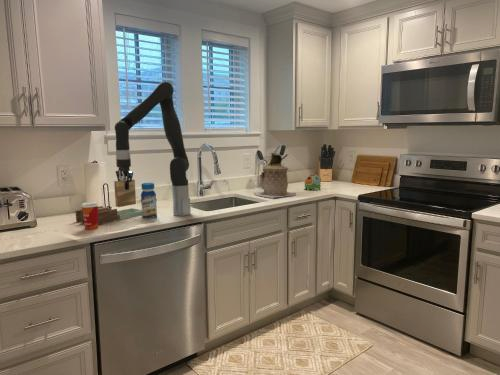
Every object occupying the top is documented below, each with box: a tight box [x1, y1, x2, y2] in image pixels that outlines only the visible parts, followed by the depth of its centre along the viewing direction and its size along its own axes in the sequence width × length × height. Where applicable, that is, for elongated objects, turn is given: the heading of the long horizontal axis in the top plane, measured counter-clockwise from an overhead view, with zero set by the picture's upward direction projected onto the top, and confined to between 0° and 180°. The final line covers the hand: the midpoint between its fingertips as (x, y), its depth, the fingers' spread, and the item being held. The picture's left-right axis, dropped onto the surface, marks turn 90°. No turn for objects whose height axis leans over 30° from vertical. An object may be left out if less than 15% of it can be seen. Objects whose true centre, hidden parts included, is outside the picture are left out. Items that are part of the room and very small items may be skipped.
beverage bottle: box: [140, 182, 158, 220], centre depth 207 cm, size 8×8×20 cm
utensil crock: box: [252, 152, 297, 200], centre depth 277 cm, size 25×25×32 cm
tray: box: [117, 207, 142, 221], centre depth 211 cm, size 12×16×4 cm
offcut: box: [98, 206, 107, 212], centre depth 197 cm, size 2×10×6 cm, turn 143°
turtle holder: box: [304, 174, 322, 192], centre depth 303 cm, size 12×18×12 cm
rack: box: [75, 205, 119, 225], centre depth 198 cm, size 15×15×8 cm
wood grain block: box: [113, 178, 137, 208], centre depth 209 cm, size 3×11×14 cm, turn 142°
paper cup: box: [81, 201, 99, 231], centre depth 182 cm, size 8×8×14 cm
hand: (125, 189), depth 209 cm, fingers closed on wood grain block, 3 cm apart
